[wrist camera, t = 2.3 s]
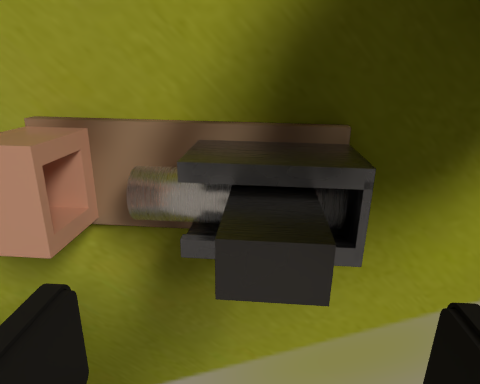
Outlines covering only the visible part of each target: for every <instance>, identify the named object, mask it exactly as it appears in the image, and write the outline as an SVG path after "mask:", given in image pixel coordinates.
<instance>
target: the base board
mask: <svg viewBox="0 0 480 384" xmlns="http://www.w3.org/2000/svg"><path fill="white" fill-rule="evenodd" d="M24 120H25V125H26V126H27V127H61V128H87V129H88V137H89V145H90V153H91V161H92V169H93V177H94V185H95V192H96V200H97V208H98V216H99V217H98V218H97V219H96V220H95V221H94V222H93V223H92V224H107V225H128V226H149V227H169V228H190V227H191V225H192V223H193V222H181V221H160V220H138V219H133V218H132V217H131V216H130V214H129V211H128V206H127V184H128V179H129V176H130V173H131V171H132V169H133V168H134V167H135V166H161V167H177V161H178V160H179V159H180V158H181V157H182V156H183V155H184V154H185V153H186V152H187V151H188V150H189V149H190V148H191V147H192V146H193V145H194V144H195V143H196V142H197V141H198V140H225V141H257V142H289V143H322V144H349V141H350V133H351V127H350V126H348V125H329V124H292V123H256V122H219V121H183V120H146V119H109V118H73V117H36V116H34V117H29V118H24Z"/></svg>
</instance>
